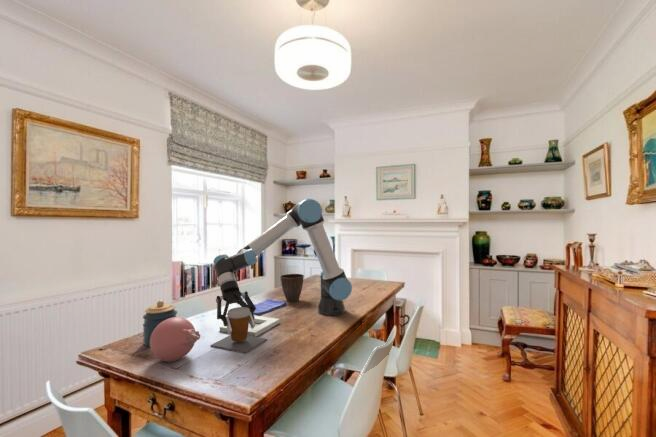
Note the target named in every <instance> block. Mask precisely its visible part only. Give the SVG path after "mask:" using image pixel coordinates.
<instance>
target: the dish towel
mask: <svg viewBox="0 0 656 437" xmlns="http://www.w3.org/2000/svg"><path fill="white" fill-rule="evenodd" d="M253 304H254V306H255V307H256V310H255V312H253V314H254V316H261V315H264V314H267V313H270V312H273V311H276V310H279V309H281V308H284V307H286V306H287V301H279V300H273V299H266V300H263V301H261V302H258V303H253Z"/></svg>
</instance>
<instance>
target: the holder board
mask: <svg viewBox="0 0 656 437" xmlns="http://www.w3.org/2000/svg"><path fill="white" fill-rule="evenodd" d="M254 317H255V318H254V323H255V324H258V325H255V326H254V328H253V329H252V328H251V327H248V334H247V336H253V337H258V336H260V335H262V334H263V333H265V332H267V331H268V330H270V329H272V328H273V327H275V326H277V325H279V324H280V318H275V317H266V316H261V315H259V316H258V315H254ZM219 332H222V333H227V334H229V333H228V330H227V326H224V324H223V325H221V326H219Z"/></svg>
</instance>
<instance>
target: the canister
mask: <svg viewBox="0 0 656 437" xmlns="http://www.w3.org/2000/svg"><path fill="white" fill-rule="evenodd" d="M144 312H145V314H144V315H143V316H142V319H144V321H143V324H142V326H143V339H142V342H143V346H144V347H147V348H150V338H151V335H152V332H153V331H154V329H155V328H156V327H157V325H159V324H160V323H161V322H162V321H164V320H166V319H169V318H173V317H177V314H178V311H177V310H176V306H175V305H173V304H172V303H164V301H163V300H158V301H157V303H156V304H153V305H151V306H149V307H148V308H147V309H145V310H144Z"/></svg>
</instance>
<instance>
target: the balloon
mask: <svg viewBox="0 0 656 437" xmlns="http://www.w3.org/2000/svg"><path fill="white" fill-rule="evenodd" d="M200 338H201V334H200V331H199V330H196V328H195V326H194V324H192V322H191V321H190V320H188V319H187V318H184V317H181V316H180V317H179V316H176V317H173V318H169V319H166V320H164V321H162V322H161V323H160V324H159V325H157V327H156V328H155V329H154V331H153V332H152V335H151V338H150V347H149V348H150V350H151V352H152V354H153V355H154V357H156V358H157V359H159V360H160V361H163V362H176V361H178V360H180V359H182V358H185V356H187V355H188V354H189V353H190V352H191V350H192V349H193V347H194V346H195V344H196V342H198V341H199V340H200Z"/></svg>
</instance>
